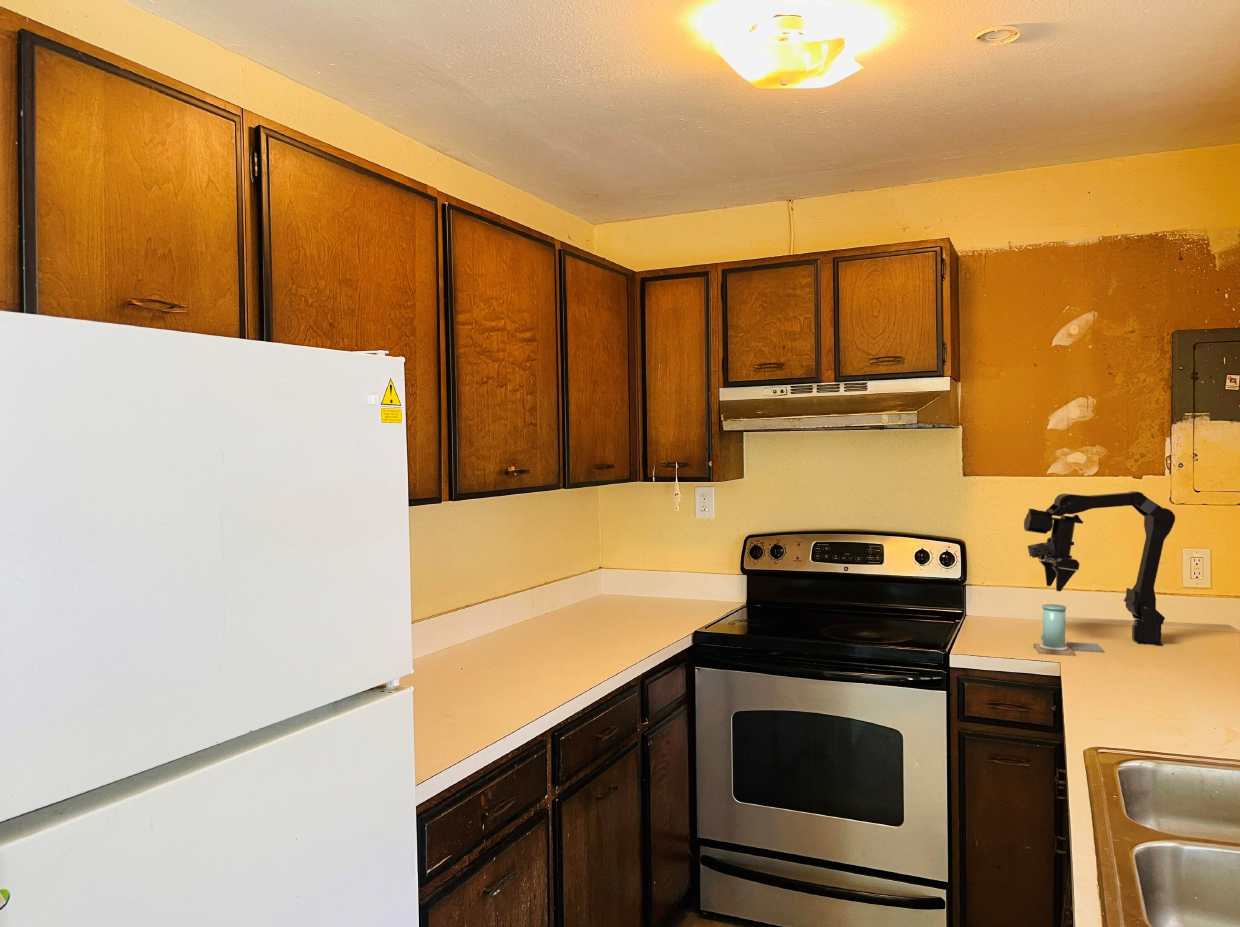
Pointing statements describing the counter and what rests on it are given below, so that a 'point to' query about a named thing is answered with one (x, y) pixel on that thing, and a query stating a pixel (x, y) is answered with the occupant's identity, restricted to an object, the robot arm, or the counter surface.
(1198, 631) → the counter surface
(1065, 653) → the brown square coaster
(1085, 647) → the mat
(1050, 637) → the teal cylindrical jar
